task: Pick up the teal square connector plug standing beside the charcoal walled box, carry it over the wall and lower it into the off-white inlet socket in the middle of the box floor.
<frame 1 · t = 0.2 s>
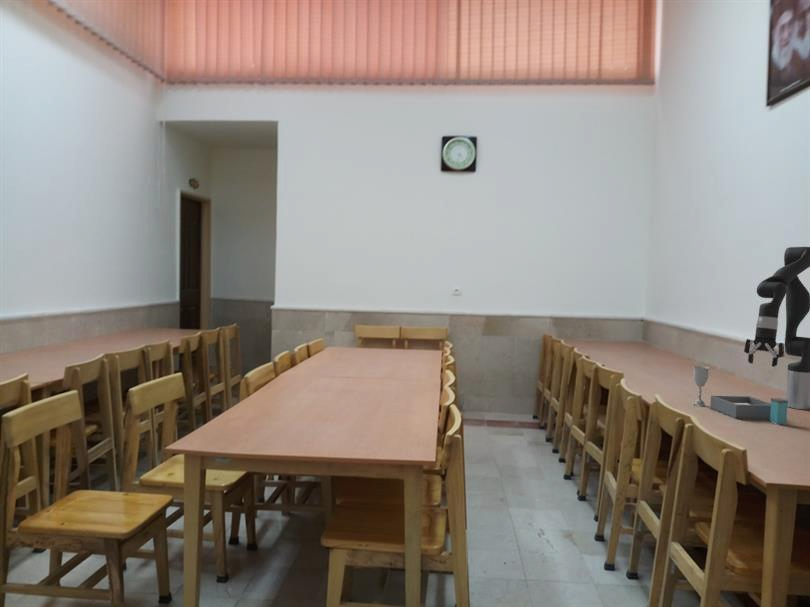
hand: (762, 365, 233), 23 cm above the table, tool pointing down, fingers open, 8 cm apart
chalice: (699, 405, 254), on the table
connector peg: (778, 423, 224), on the table
walled box: (742, 413, 239), on the table
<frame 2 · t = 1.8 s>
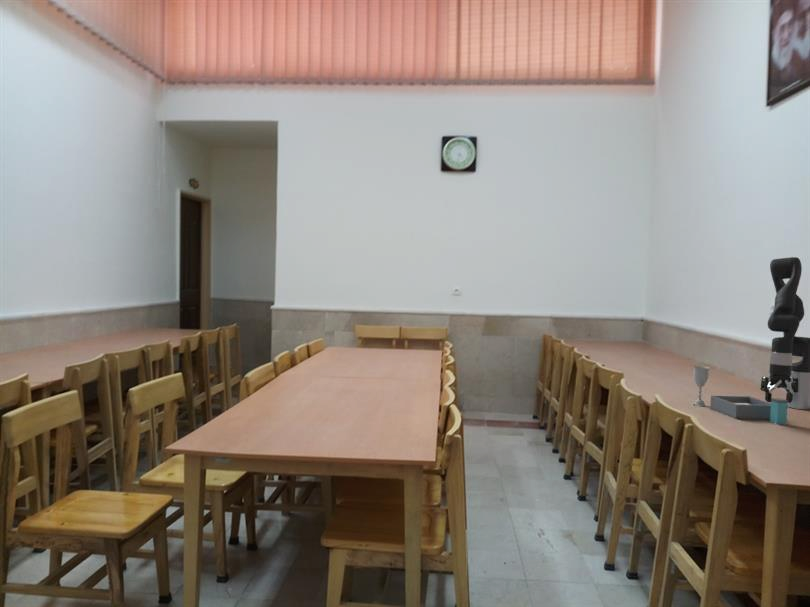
hand: (778, 402, 223), 9 cm above the table, tool pointing down, fingers open, 8 cm apart
nothing on the table moved.
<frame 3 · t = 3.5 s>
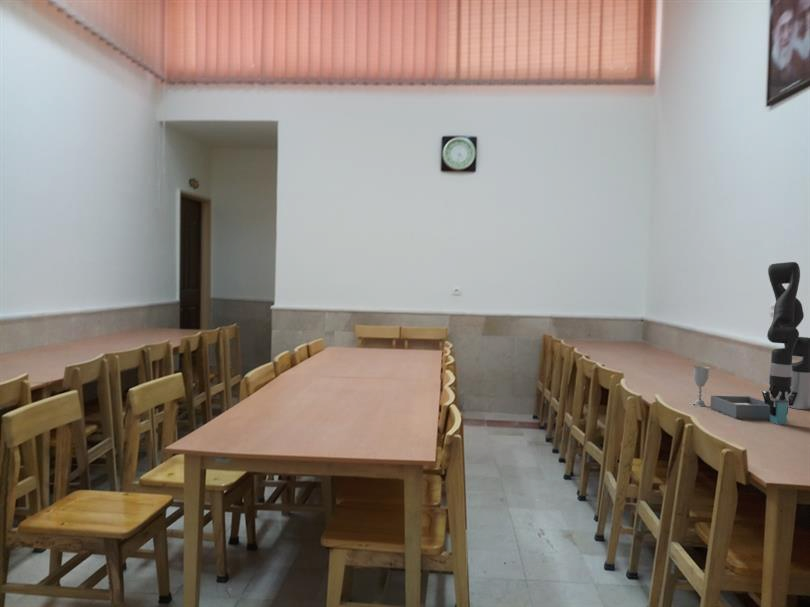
hand: (778, 415, 224), 3 cm above the table, tool pointing down, fingers closed on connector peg, 4 cm apart
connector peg: (778, 423, 224), on the table, touching gripper
everything else where it was.
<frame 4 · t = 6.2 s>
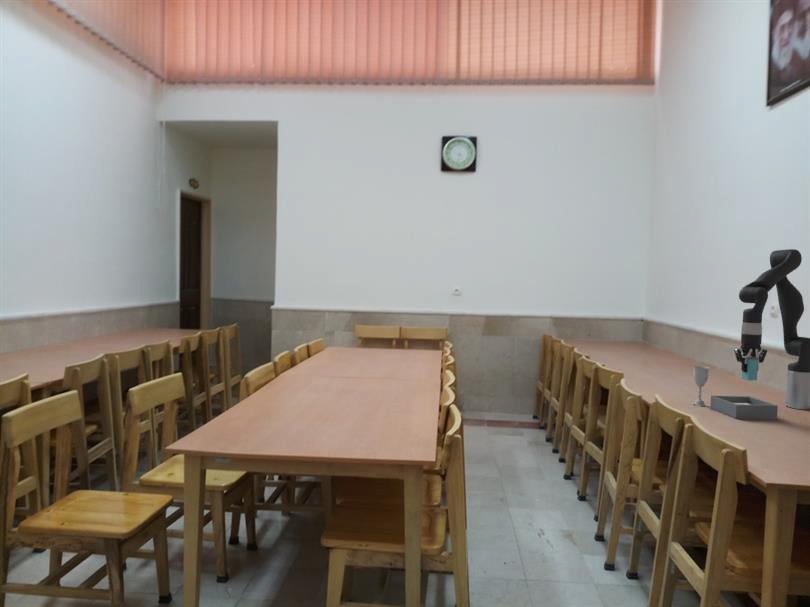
hand: (749, 371, 236), 19 cm above the table, tool pointing down, fingers closed on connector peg, 4 cm apart
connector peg: (749, 379, 236), point 16 cm above the table, touching gripper
everything else where it was.
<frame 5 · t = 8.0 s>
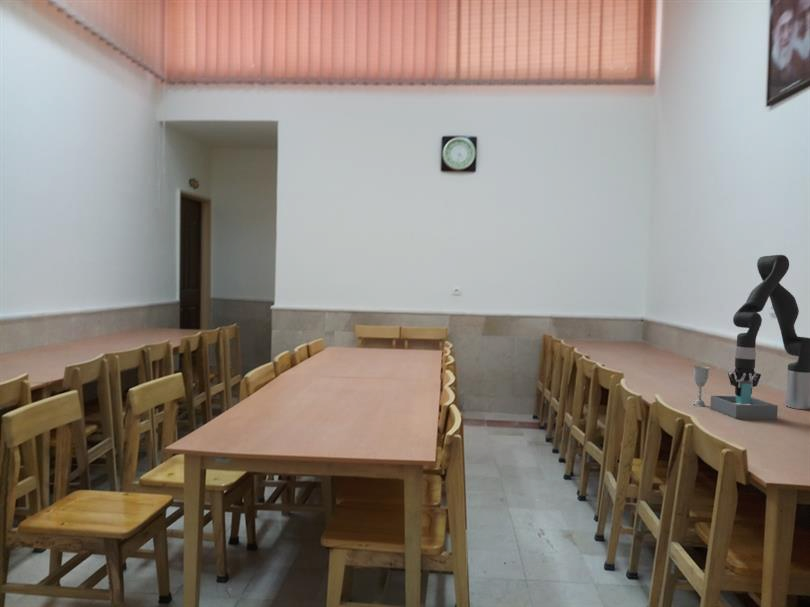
hand: (743, 395, 238), 8 cm above the table, tool pointing down, fingers closed on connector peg, 4 cm apart
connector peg: (742, 403, 238), point 5 cm above the table, touching gripper
everything else where it was.
when the fingers open (5 cm above the table, at t = 9.3 s): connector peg drops 1 cm, resting on walled box.
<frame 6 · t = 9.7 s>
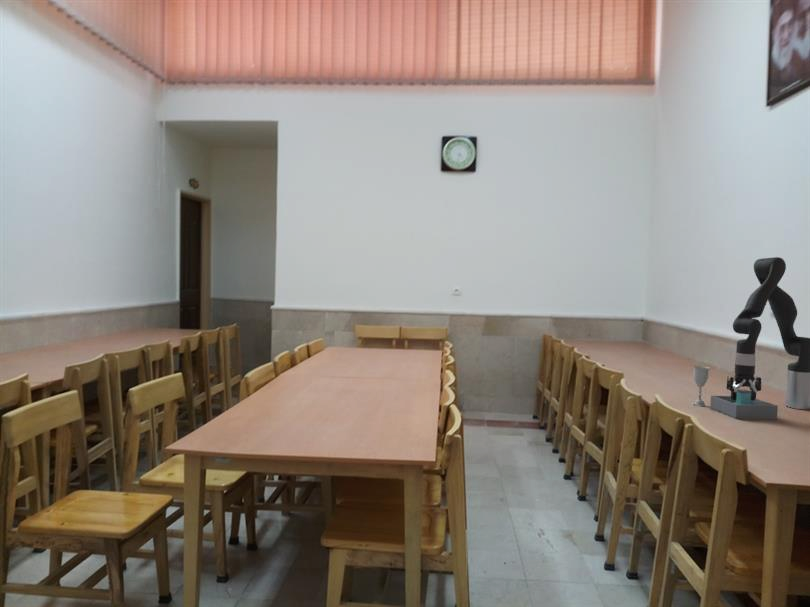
hand: (743, 400, 238), 6 cm above the table, tool pointing down, fingers open, 8 cm apart
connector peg: (742, 412, 239), point 1 cm above the table, touching walled box
everything else where it was.
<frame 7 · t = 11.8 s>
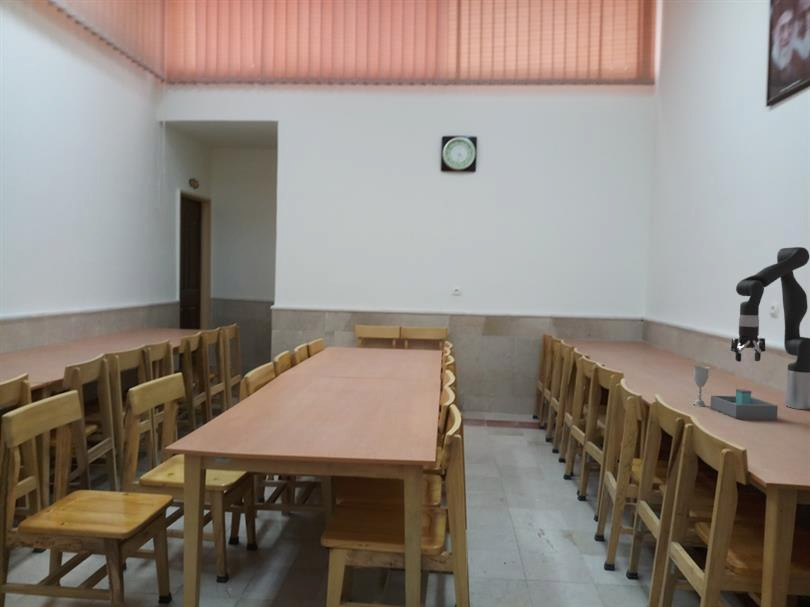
hand: (747, 361, 242), 23 cm above the table, tool pointing down, fingers open, 8 cm apart
nothing on the table moved.
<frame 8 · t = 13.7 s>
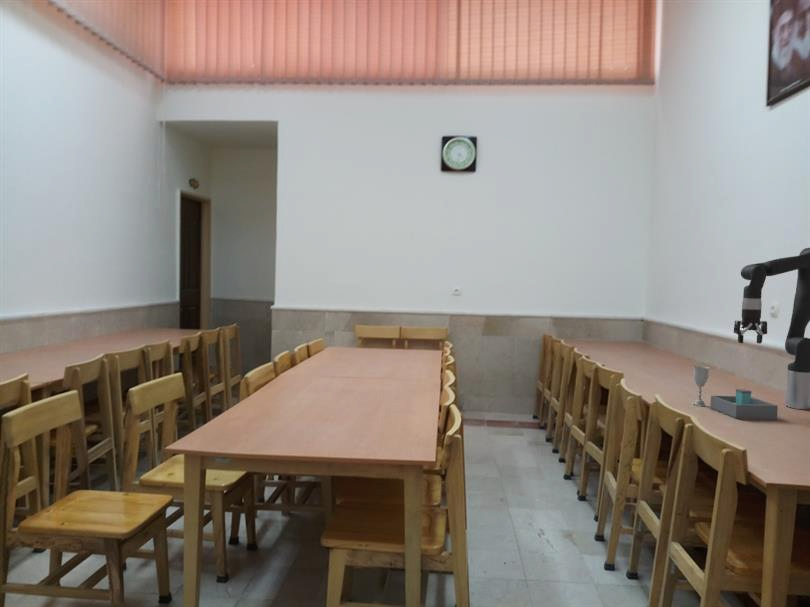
hand: (749, 343, 249), 30 cm above the table, tool pointing down, fingers open, 8 cm apart
nothing on the table moved.
at the end: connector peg 0.0 cm off-centre on the walled box, point 0.6 cm above the walled box's base; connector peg tilted 0°; the gripper is holding nothing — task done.
